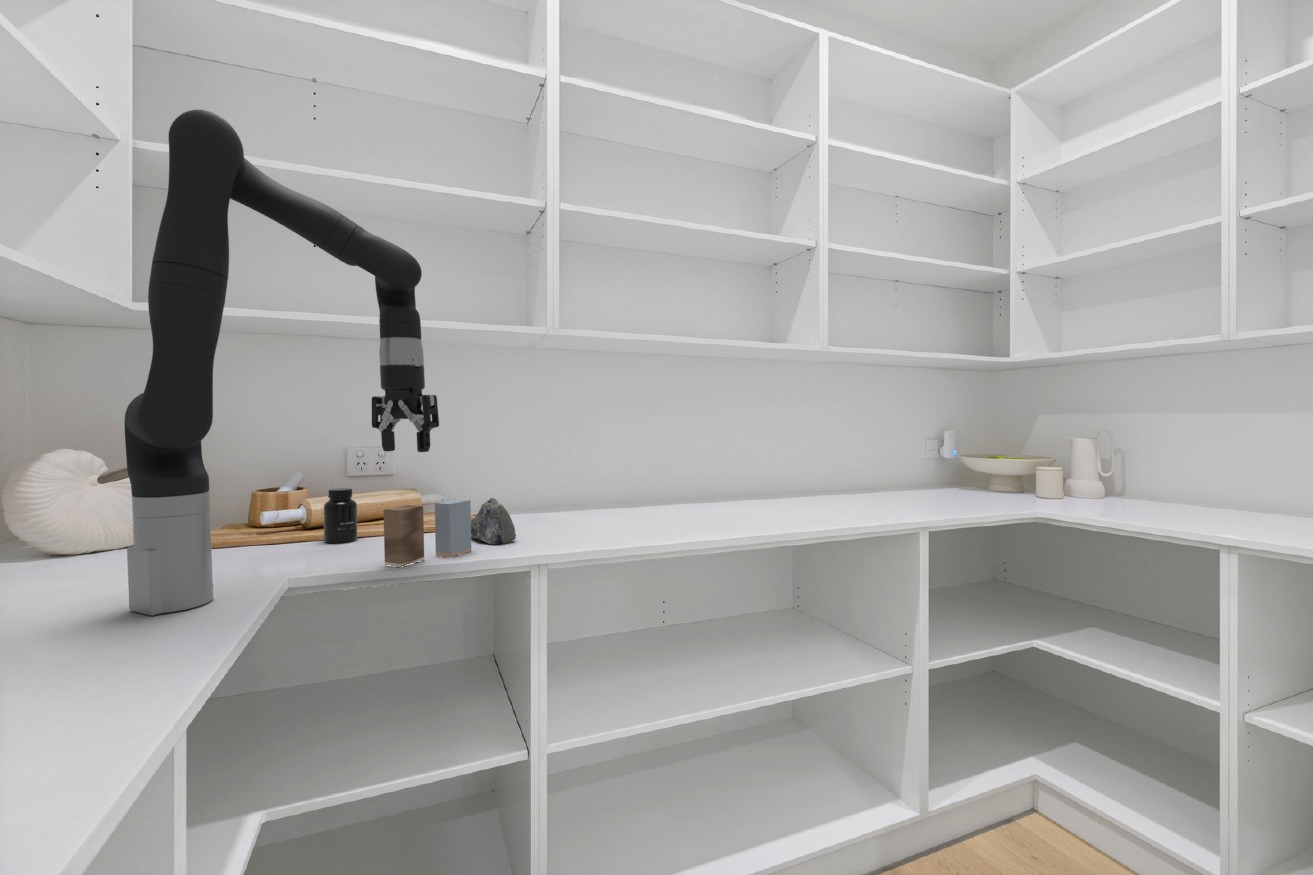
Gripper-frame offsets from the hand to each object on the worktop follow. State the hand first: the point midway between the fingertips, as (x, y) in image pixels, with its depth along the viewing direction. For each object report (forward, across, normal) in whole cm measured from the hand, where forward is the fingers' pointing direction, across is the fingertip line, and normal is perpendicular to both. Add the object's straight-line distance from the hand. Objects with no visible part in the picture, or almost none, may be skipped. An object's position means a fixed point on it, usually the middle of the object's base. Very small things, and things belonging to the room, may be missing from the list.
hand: (406, 451), depth 111 cm
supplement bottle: (+22, -34, +12) cm, 43 cm away
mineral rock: (+23, -3, +27) cm, 36 cm away
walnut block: (+22, -5, +3) cm, 23 cm away
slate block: (+22, -1, +13) cm, 26 cm away
